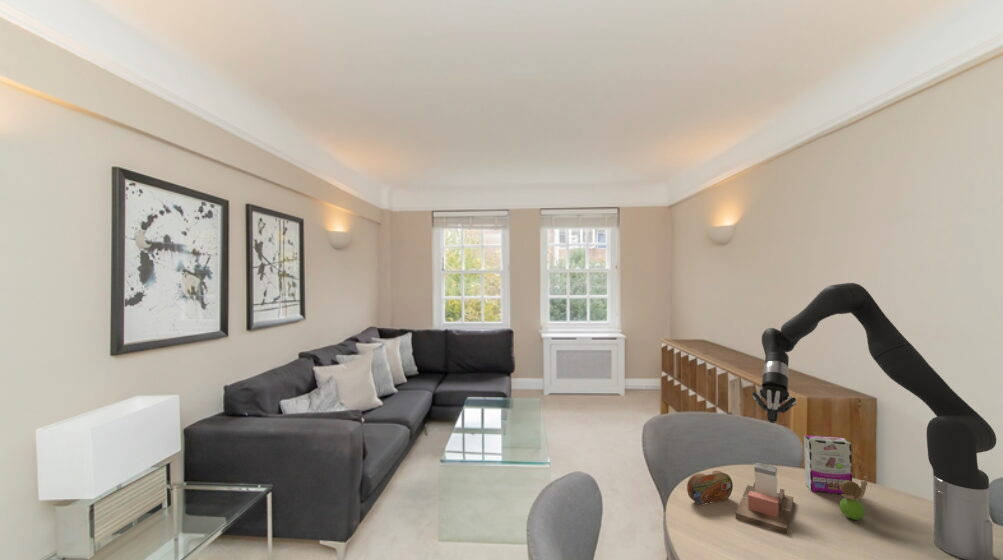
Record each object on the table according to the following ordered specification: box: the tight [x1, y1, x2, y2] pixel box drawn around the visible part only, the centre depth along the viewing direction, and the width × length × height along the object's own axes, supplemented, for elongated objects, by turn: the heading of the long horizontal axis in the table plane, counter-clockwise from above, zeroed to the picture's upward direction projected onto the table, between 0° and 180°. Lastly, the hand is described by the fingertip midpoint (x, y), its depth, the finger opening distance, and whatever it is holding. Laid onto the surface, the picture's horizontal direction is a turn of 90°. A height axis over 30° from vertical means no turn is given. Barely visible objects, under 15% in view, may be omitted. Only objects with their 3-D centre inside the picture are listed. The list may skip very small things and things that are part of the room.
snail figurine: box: [839, 475, 868, 521], centre depth 116 cm, size 5×6×12 cm
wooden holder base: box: [735, 481, 794, 535], centre depth 121 cm, size 12×20×4 cm, turn 141°
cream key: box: [754, 462, 778, 498], centre depth 122 cm, size 5×4×10 cm
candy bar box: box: [803, 434, 853, 496], centre depth 131 cm, size 11×5×16 cm, turn 73°
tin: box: [686, 470, 734, 506], centre depth 126 cm, size 15×3×8 cm, turn 105°
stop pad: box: [748, 491, 779, 518], centre depth 118 cm, size 7×3×4 cm, turn 51°
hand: (772, 421), depth 136 cm, fingers closed
